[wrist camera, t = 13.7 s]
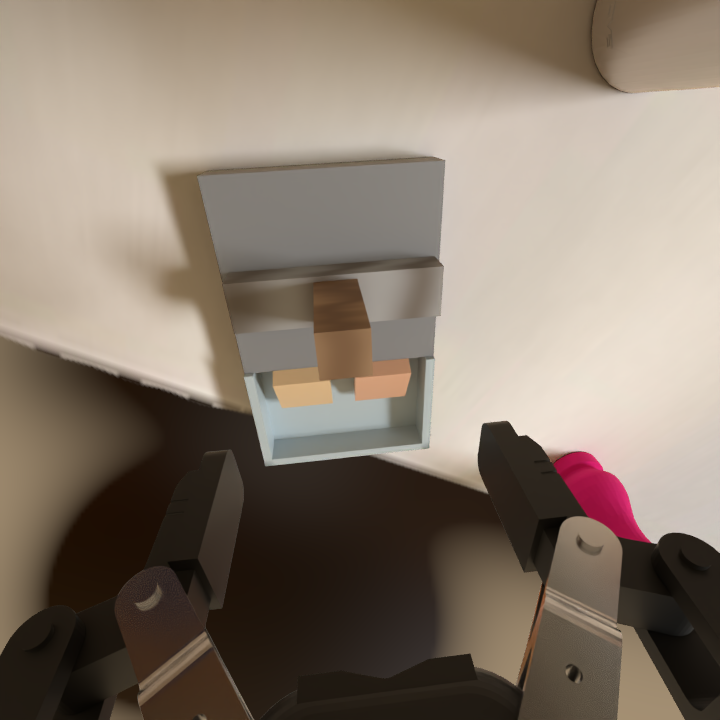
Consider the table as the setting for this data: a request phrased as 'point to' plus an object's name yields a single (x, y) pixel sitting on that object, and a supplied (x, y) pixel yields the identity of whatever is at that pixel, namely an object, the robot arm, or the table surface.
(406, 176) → the board
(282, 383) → the tile
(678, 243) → the table surface
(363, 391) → the tile
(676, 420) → the table surface
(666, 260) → the table surface
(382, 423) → the tray
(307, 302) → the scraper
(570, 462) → the pepper mill
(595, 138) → the table surface
